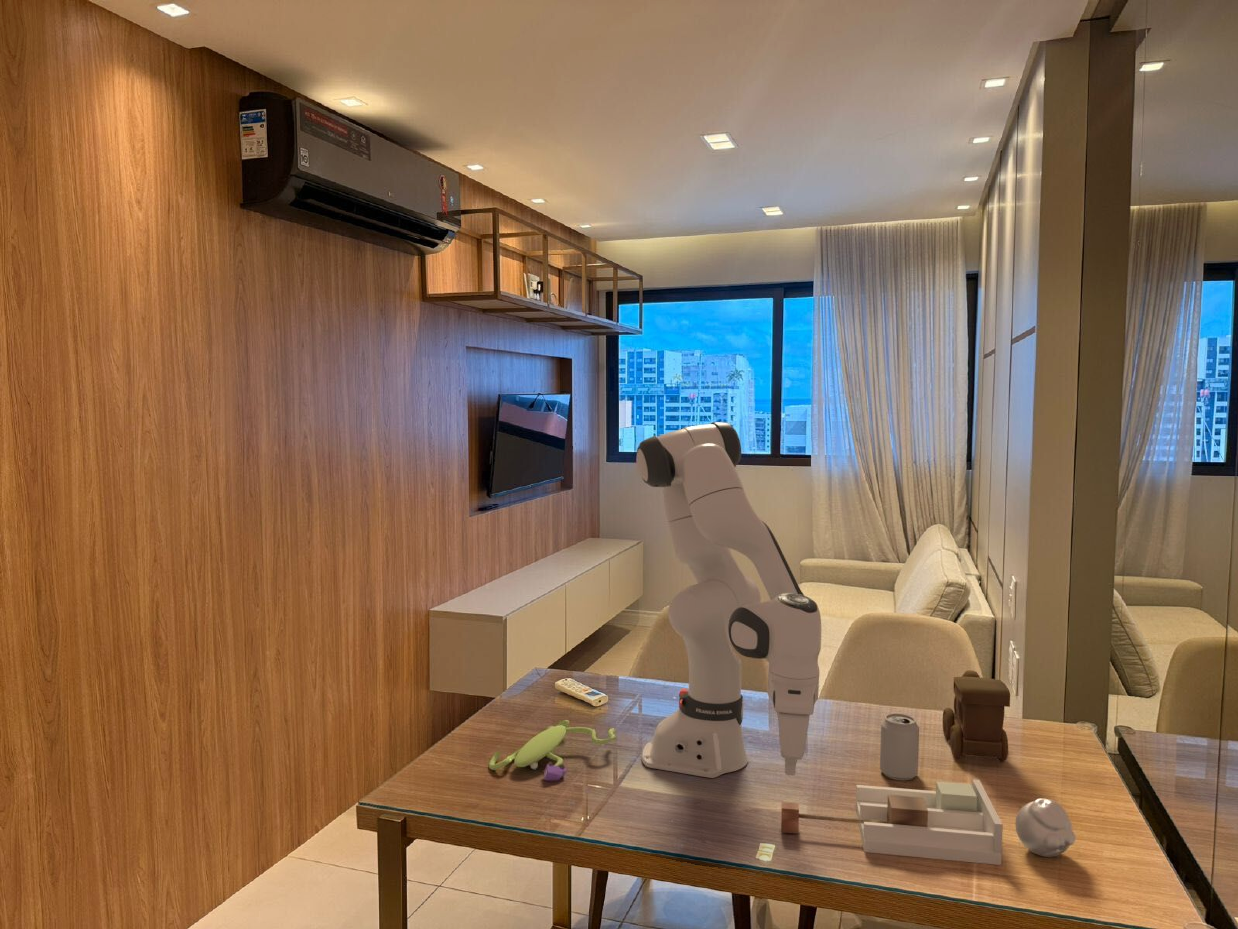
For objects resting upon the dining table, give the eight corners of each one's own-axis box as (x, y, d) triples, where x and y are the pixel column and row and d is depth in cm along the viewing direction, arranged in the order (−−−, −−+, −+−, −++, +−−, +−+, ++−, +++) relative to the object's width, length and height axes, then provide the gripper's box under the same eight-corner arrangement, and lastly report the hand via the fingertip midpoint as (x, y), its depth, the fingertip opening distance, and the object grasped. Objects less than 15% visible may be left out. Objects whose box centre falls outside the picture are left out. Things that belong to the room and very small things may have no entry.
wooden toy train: (1012, 771, 179) (1015, 693, 178) (954, 766, 182) (957, 689, 180) (991, 735, 199) (994, 664, 198) (939, 731, 201) (941, 661, 200)
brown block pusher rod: (781, 835, 152) (782, 798, 152) (781, 822, 157) (781, 786, 157) (926, 849, 148) (927, 811, 147) (921, 834, 153) (923, 797, 152)
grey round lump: (1014, 862, 144) (1017, 804, 144) (1014, 836, 153) (1016, 781, 152) (1075, 874, 141) (1078, 815, 140) (1071, 846, 149) (1073, 791, 149)
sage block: (940, 820, 154) (941, 793, 154) (935, 807, 159) (936, 781, 159) (975, 823, 153) (976, 796, 153) (969, 810, 158) (970, 784, 158)
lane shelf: (864, 852, 147) (865, 812, 147) (855, 805, 164) (856, 770, 163) (1001, 865, 143) (1002, 824, 143) (977, 816, 160) (979, 779, 160)
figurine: (627, 752, 190) (627, 727, 189) (541, 794, 169) (541, 767, 169) (566, 731, 202) (566, 707, 201) (479, 768, 181) (479, 742, 181)
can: (920, 784, 174) (922, 726, 173) (881, 780, 175) (883, 723, 174) (915, 768, 181) (917, 712, 180) (878, 765, 182) (879, 709, 181)
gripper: (774, 666, 163) (771, 736, 165) (775, 706, 143) (771, 785, 145) (808, 669, 162) (804, 739, 164) (814, 709, 142) (809, 789, 144)
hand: (789, 761), depth 154 cm, fingers open, 8 cm apart
